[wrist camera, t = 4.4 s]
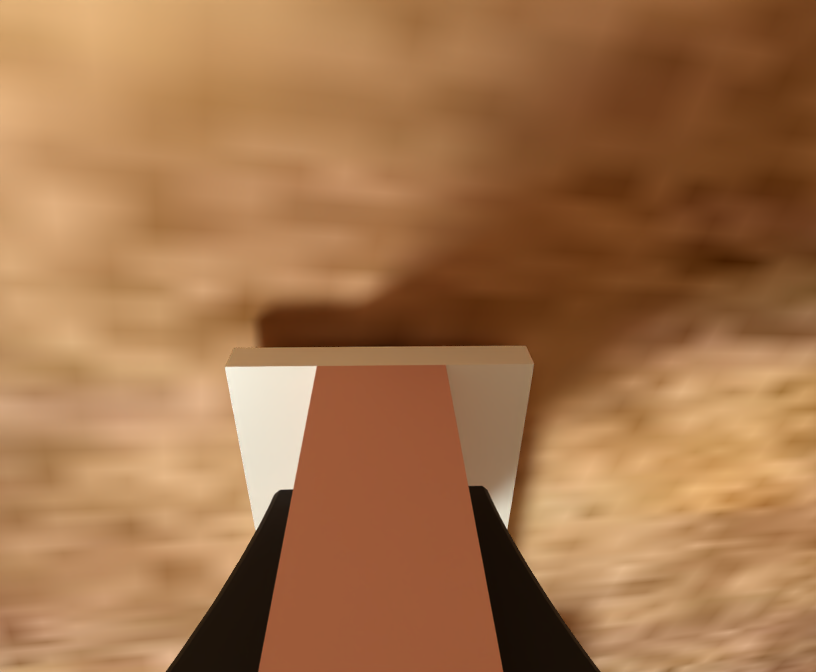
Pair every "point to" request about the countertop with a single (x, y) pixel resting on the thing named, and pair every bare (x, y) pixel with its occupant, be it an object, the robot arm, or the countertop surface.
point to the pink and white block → (380, 498)
